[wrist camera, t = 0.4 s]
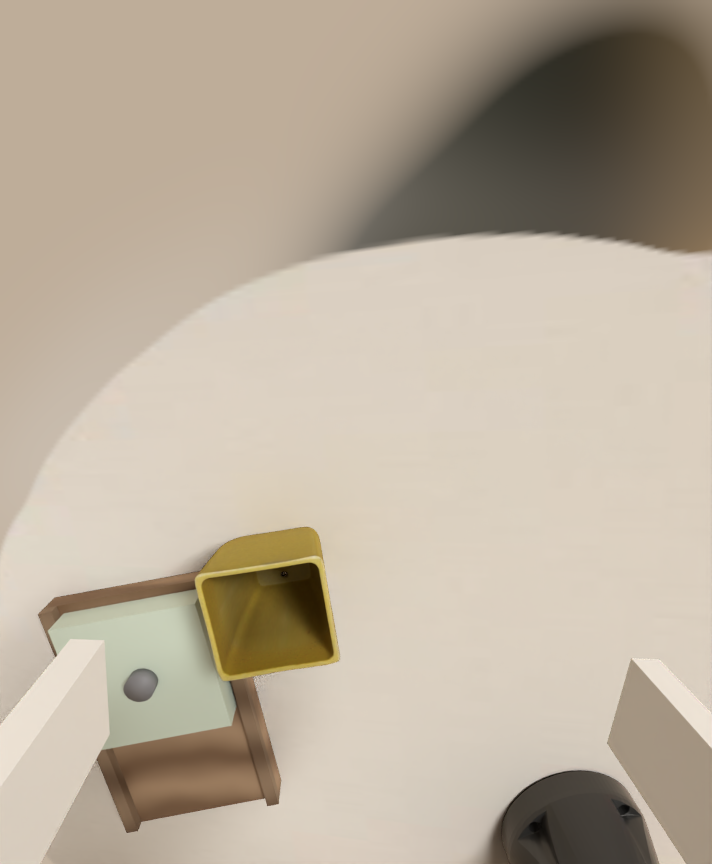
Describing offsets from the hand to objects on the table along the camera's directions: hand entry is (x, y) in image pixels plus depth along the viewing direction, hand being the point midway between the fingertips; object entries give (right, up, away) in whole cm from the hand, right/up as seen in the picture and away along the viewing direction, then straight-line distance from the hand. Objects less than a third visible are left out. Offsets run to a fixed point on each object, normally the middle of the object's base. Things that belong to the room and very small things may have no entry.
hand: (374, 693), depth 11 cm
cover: (-19, -14, +28) cm, 36 cm away
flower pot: (-7, -4, +28) cm, 29 cm away
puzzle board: (-18, -19, +31) cm, 40 cm away
